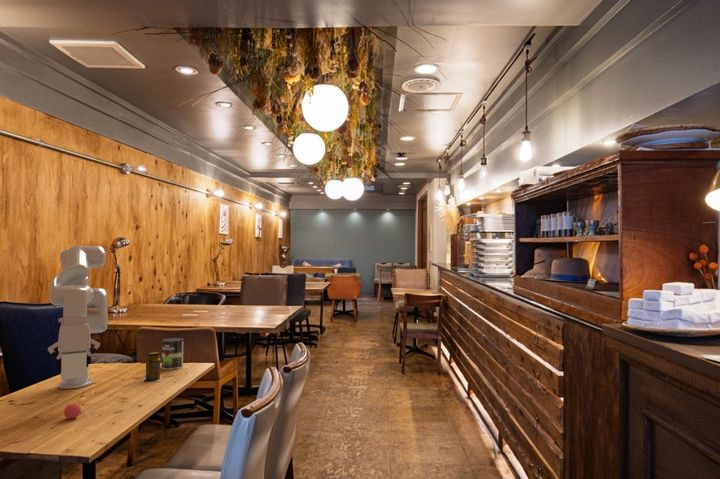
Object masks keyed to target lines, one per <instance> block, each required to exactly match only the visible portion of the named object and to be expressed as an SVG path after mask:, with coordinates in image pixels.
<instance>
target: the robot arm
mask: <svg viewBox="0 0 720 479" xmlns="http://www.w3.org/2000/svg"><path fill="white" fill-rule="evenodd" d="M106 260H107V253H106V250H105V248H104V247H103V246H100V245H74V246H72V247H71V246H70V247H69V248H68V249H66V250H63V251H61V252H60V255H59V261H60V265H61V269H62V270H61V271H59V272H58V273H57V274H56V275H55V276H53V278H52V280H51V281H50V285H49V292H48V293H49V294H48V297H49V298H48V299H49V302H50V303H51V305H53V306H57V307H58V306H62V307H63V310H62V312H63V313H62V317H60V318H58V323H61V325H60V326H59V333H58V340H57V341H56V342H55V343H53V344H52V345H50V346H48V348H47V352H49V353H50V355H52V356H53V357H54V358H55V359H56V360H57V362H56V363H57V365H56V366H57V367H56V368H57V369H59V371H61V361H62V354H64V353H70V352H80V351H87V357H86V377H78V378H70V379H62V381H61V382H59V383H58V384H57V387H58V388H59V389H63V390H71V389H80V388H85V387H87V386H90V385H92V383H93V379H91V378H89V366H90V365H91V364H92V362H91V360H92V359H91V358H92V355H93V354H94V353H95V352H97V350H98V349H99V348H100V346H101V342H98V341H96V340H94V339H93V338H91V334H97V333H99V334H100V333H103V332H105V331H107V329H108V324H109V315H108V314H109V313H108V312H109V311H108V308H109V307H108V306H109V305H108V304H109V303H108V302H109V301H108V299H109V298H108V292H107V291H106V289H104V288H103V287H101V288H100V287H94V288H93V287H91V286H89V284H90V283H89V282H90V278H89V277H88V276H89V274H90V269H93V268H94V269H96V268H97V269H98V268H102V267H104V266H105V263H106ZM88 310H94V311H88ZM91 344H92V345H94V347H93V348H92V349H91V347H92V346H91ZM56 348H57V350H58V352H57V351H55V350H54V349H56ZM90 349H91V350H90Z"/></svg>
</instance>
